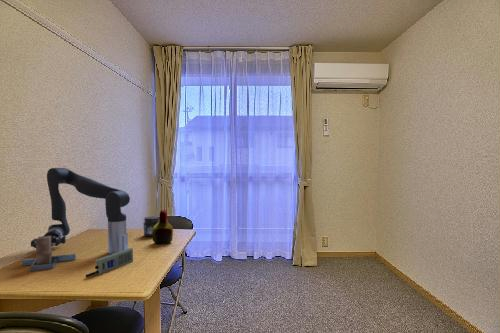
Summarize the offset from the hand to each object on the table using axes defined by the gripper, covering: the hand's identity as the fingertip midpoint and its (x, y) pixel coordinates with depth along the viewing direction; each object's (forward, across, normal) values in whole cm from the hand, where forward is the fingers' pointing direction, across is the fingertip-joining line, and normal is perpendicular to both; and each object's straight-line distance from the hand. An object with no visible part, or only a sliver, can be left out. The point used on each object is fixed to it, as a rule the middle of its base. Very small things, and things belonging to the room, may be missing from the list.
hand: (45, 245), depth 145 cm
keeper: (+2, +1, +10) cm, 10 cm away
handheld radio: (+18, +29, +10) cm, 36 cm away
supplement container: (-38, +52, +10) cm, 65 cm away
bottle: (-17, +56, +10) cm, 60 cm away
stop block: (+3, 0, +10) cm, 10 cm away
